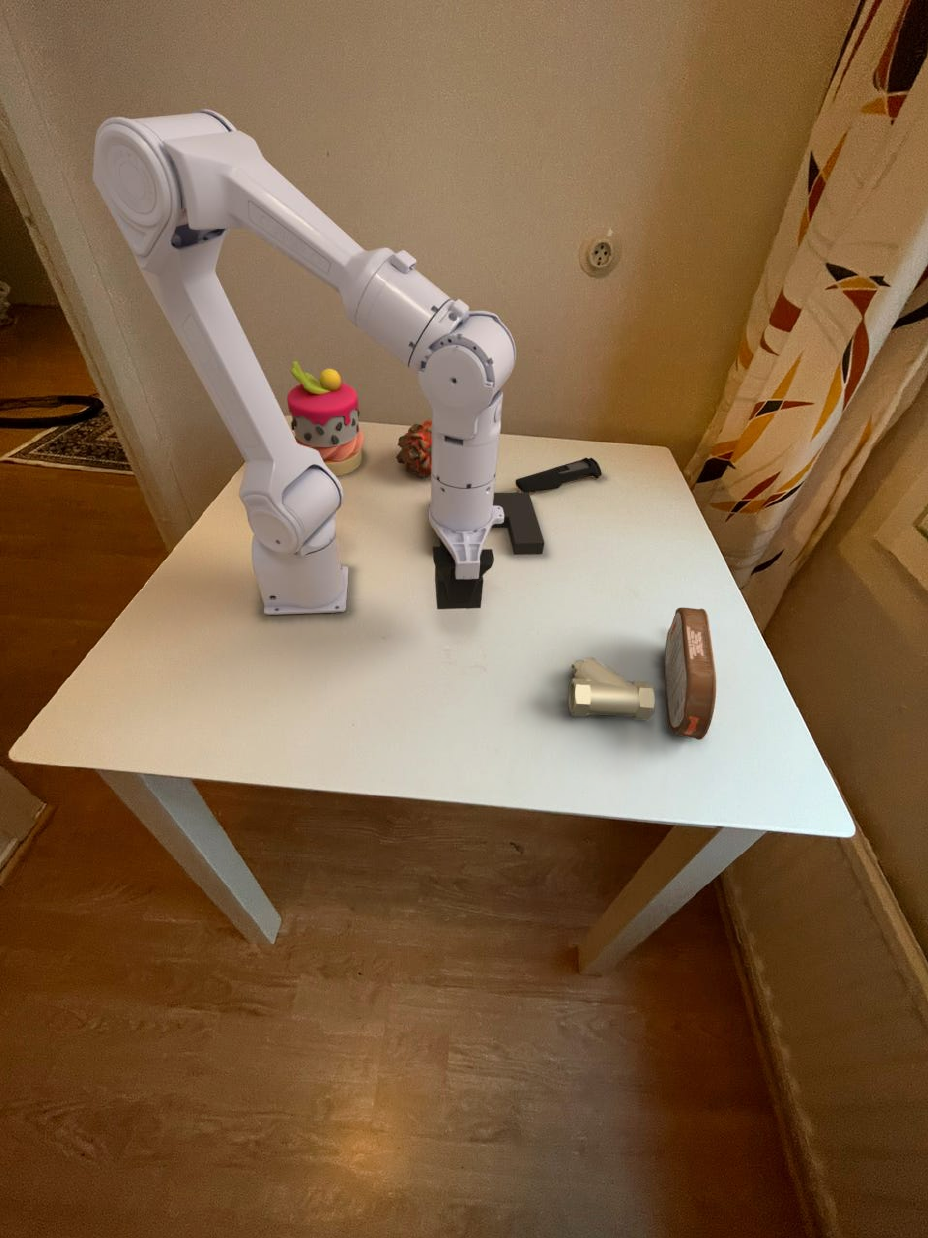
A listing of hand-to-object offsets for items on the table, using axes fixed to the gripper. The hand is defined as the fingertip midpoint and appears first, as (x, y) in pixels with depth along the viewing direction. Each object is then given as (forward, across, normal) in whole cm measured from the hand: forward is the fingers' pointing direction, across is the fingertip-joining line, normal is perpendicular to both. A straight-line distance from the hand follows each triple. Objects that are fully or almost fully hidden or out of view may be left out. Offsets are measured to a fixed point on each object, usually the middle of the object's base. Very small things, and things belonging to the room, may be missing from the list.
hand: (457, 584), depth 59 cm
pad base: (+8, +21, -6) cm, 23 cm away
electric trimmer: (+9, +32, -19) cm, 38 cm away
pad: (+1, 0, 0) cm, 1 cm away
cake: (+9, +39, +17) cm, 44 cm away
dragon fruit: (+9, +36, +2) cm, 38 cm away
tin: (+9, -9, -23) cm, 27 cm away
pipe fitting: (+8, -9, -15) cm, 20 cm away
